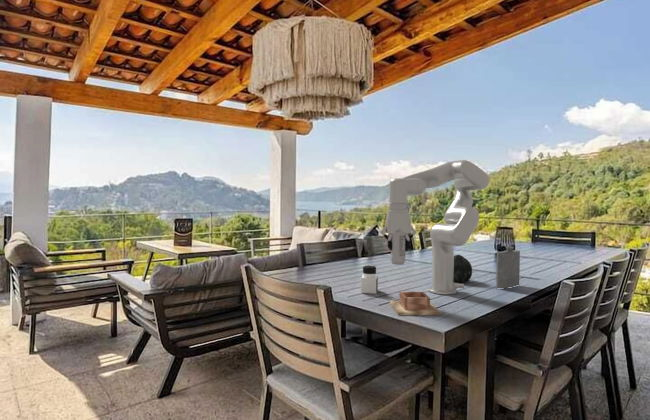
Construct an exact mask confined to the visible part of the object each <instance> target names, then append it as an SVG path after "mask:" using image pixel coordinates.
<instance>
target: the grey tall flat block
mask: <svg viewBox="0 0 650 420" xmlns="http://www.w3.org/2000/svg"><path fill="white" fill-rule="evenodd" d="M520 261H521V250H518V249H517V250H516V249H515V247H514V246H511V245H510V246H507V245H506V246H505V250H502V251H497V252H496V277H495V278H496V282H495V283H496V285H495V287H496V288H508V287H513V286H516V285H519V286H520V265H521V263H520Z"/></svg>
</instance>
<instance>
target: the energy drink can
mask: <svg viewBox="0 0 650 420" xmlns="http://www.w3.org/2000/svg"><path fill="white" fill-rule="evenodd" d="M391 241H392V250H390V262H391V264H392V265H396V266H400V265H405V263H406V250H405V234H404V232H403V231H402V230H401V229H397V231H396V232H394V234H392V238H391Z"/></svg>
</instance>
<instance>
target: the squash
mask: <svg viewBox="0 0 650 420" xmlns="http://www.w3.org/2000/svg"><path fill="white" fill-rule="evenodd" d="M472 275H473V266H472V264H471V262H470V261H469V260H468V259H467V258H465V257H464V256H463V255H461V254H456V255H455V254H454V274H453V282H455V283H459V284H463V283H465V282H469V281H470V279H471V278H472Z"/></svg>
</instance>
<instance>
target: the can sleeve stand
mask: <svg viewBox="0 0 650 420" xmlns="http://www.w3.org/2000/svg"><path fill="white" fill-rule="evenodd" d="M398 296H399V299H398V300H389V304H390V305H391V307H392V308H393V311H394V312H395V313H396V314H397V316H441V315H442V312H441V311H440V309H438V308H437V307H436V306H435V305H434V304H432V302H431V298H430V296H429V295H427V294H426V293H425V292H424V291H399V295H398Z"/></svg>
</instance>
